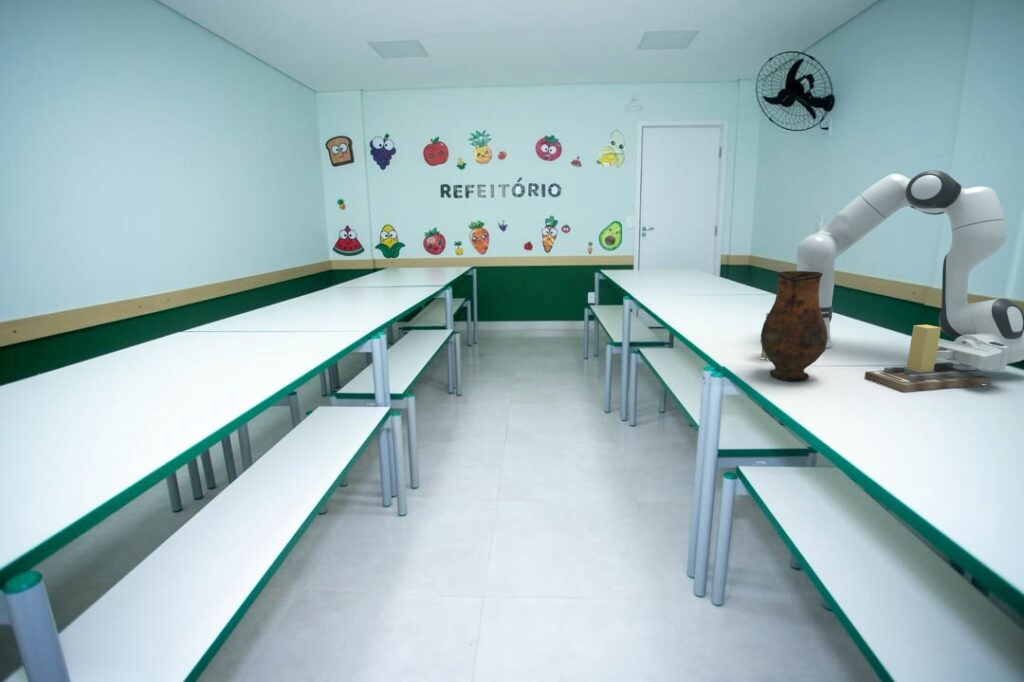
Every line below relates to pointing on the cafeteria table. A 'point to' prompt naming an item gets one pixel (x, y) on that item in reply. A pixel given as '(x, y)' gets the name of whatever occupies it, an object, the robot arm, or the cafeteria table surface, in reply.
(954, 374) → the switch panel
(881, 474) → the cafeteria table surface
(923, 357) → the slider tab
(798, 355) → the brown vase
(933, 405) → the cafeteria table surface
